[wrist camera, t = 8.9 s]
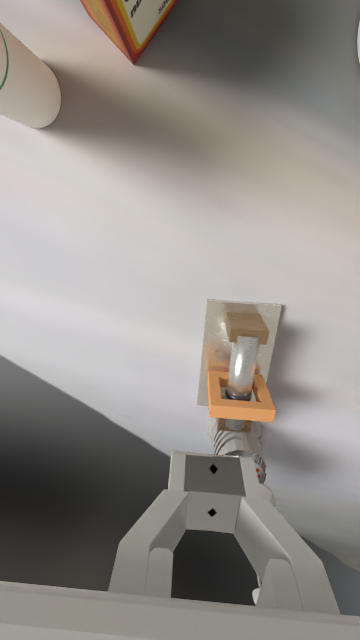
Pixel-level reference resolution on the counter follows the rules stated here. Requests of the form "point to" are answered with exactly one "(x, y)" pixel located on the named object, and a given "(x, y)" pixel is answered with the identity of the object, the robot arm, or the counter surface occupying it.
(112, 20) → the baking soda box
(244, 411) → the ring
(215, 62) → the counter surface
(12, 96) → the cylindrical container
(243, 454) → the french press
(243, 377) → the pipe rig
